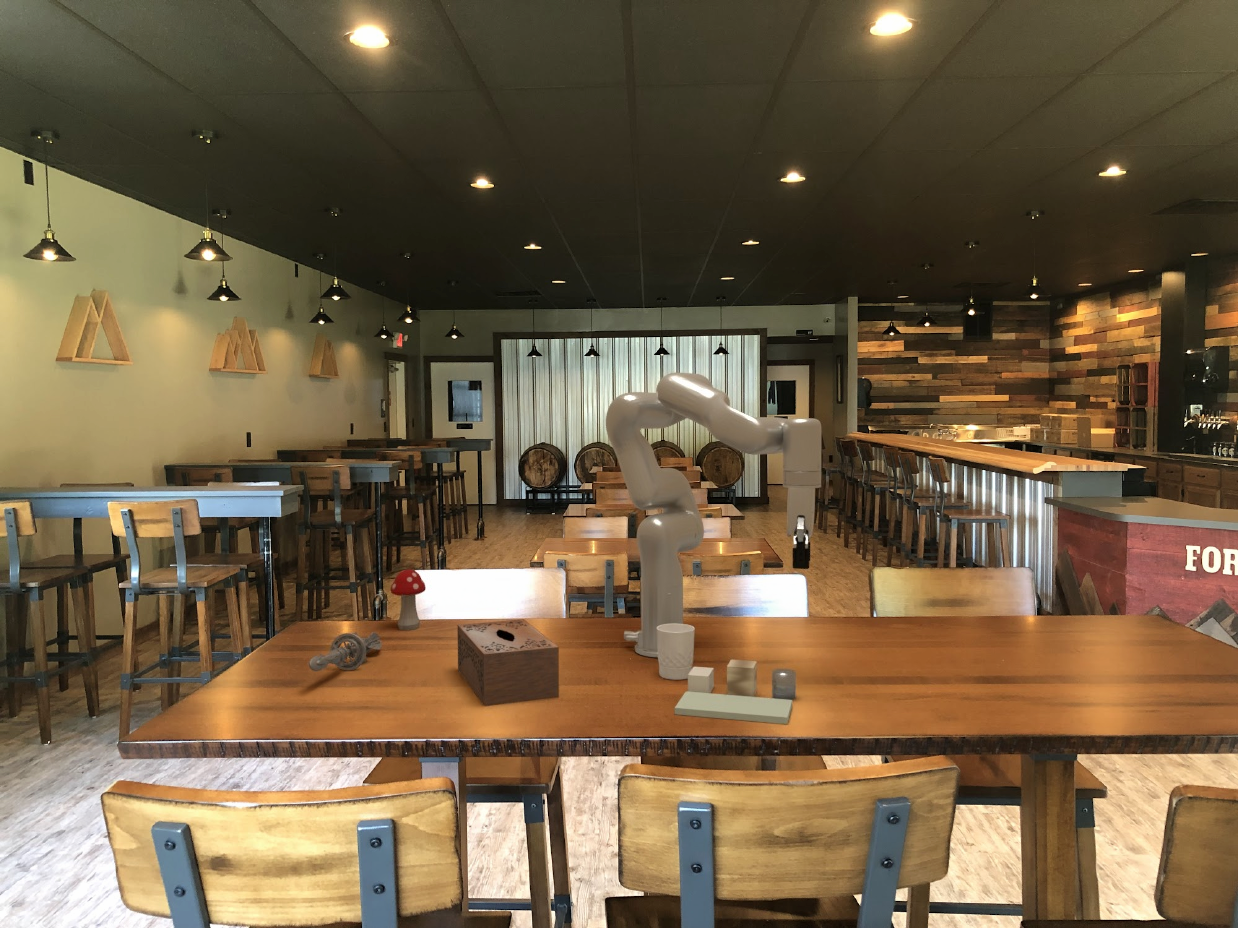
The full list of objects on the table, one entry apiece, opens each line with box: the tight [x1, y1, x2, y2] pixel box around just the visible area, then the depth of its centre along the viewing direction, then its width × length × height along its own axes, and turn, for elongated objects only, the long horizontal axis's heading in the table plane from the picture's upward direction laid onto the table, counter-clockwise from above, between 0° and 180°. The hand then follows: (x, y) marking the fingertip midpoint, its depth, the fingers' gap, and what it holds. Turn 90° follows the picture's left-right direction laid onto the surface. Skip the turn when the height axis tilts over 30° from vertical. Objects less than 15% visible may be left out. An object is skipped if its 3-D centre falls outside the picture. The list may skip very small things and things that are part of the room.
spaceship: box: [308, 631, 383, 672], centre depth 189 cm, size 8×35×8 cm
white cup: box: [657, 623, 695, 681], centre depth 184 cm, size 8×8×10 cm
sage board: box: [674, 690, 793, 725], centre depth 162 cm, size 20×10×1 cm, turn 74°
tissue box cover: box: [456, 618, 560, 707], centre depth 179 cm, size 26×14×10 cm, turn 21°
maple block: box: [726, 659, 758, 697], centre depth 171 cm, size 5×5×6 cm
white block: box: [687, 666, 715, 693], centre depth 174 cm, size 4×6×4 cm, turn 164°
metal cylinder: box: [771, 668, 797, 702], centre depth 169 cm, size 4×4×5 cm
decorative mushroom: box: [390, 568, 426, 631], centre depth 227 cm, size 10×9×15 cm
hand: (801, 564), depth 179 cm, fingers open, 9 cm apart
